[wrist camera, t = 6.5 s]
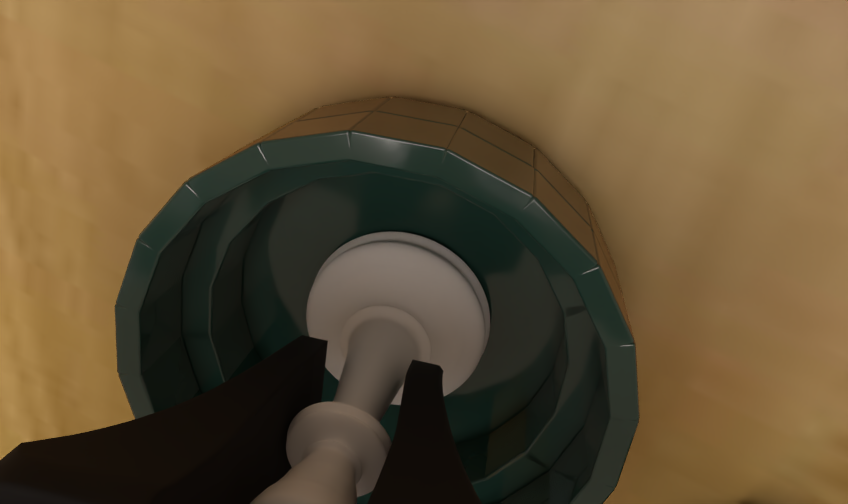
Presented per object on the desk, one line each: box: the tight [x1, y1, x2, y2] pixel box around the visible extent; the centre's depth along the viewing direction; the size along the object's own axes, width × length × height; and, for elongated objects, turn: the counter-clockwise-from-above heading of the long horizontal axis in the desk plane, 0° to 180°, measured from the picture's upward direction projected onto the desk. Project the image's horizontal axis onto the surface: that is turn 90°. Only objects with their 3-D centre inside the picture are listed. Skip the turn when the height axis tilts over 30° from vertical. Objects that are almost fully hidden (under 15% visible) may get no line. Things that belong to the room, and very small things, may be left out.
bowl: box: [115, 97, 639, 504], centre depth 17 cm, size 12×12×4 cm
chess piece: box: [250, 231, 490, 504], centre depth 13 cm, size 5×5×10 cm
